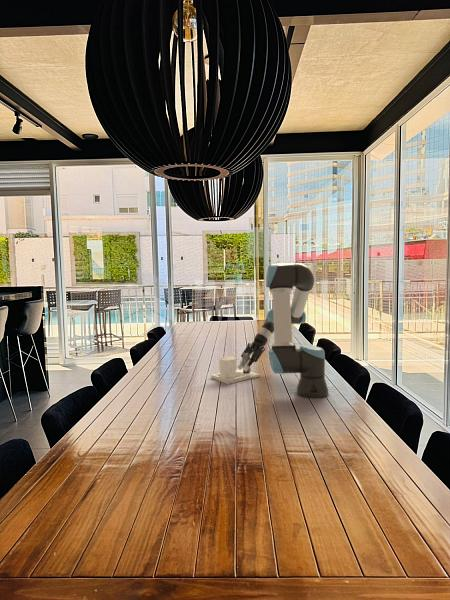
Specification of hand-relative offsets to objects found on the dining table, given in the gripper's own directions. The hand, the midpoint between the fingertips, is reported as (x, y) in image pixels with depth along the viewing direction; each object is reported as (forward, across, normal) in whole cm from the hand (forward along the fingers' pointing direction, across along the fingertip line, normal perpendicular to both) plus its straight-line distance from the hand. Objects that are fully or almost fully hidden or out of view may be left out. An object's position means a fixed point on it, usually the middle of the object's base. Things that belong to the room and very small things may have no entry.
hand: (241, 369), depth 244 cm
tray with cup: (+6, 0, 0) cm, 6 cm away
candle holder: (+10, 0, +4) cm, 11 cm away
